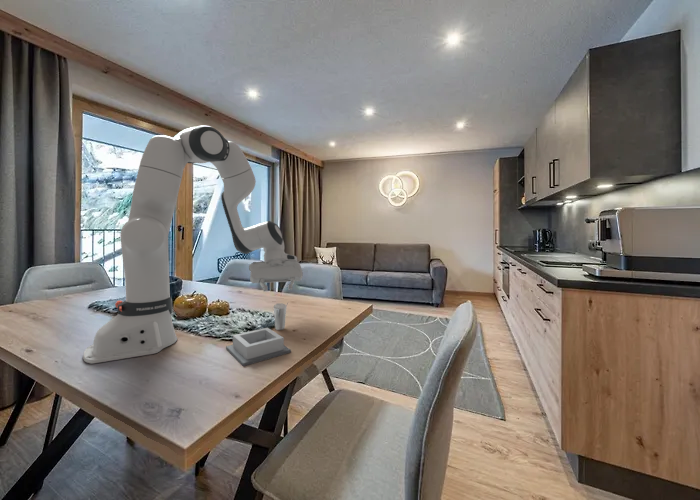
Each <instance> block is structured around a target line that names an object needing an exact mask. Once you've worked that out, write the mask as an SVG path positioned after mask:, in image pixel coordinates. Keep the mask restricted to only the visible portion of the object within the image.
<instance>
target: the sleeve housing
mask: <svg viewBox="0 0 700 500" xmlns="http://www.w3.org/2000/svg"><path fill="white" fill-rule="evenodd" d="M284 341H285V337H283V336H281V335H280V334H278V333H277V332H276V331H274V330H272V329H271V328H269V327H263V328H260V329H259V328H258V329H256V330H250V331H246V332H240V333H237V334H232V344H230V345H226V346H225V349H226V351H228V352H229V354H231V355H232V356H233V358H234V359H235V360H236V361H237V362H238V363H239V364H240V365H242V367H245V366H248V365H252V364H256V363H259V362H262V361H265V360H269V359H273V358H278V357H280V356H283V355H286V354H290V353H291V352H292V349H290V348H289V347H287V346H286V345H285V343H284Z"/></svg>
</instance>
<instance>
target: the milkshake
mask: <svg viewBox="0 0 700 500" xmlns="http://www.w3.org/2000/svg"><path fill="white" fill-rule="evenodd" d="M288 303H289V302H287V303H286V304H285V303H276V304H274V306H273V316H274V328H275V331H276V330H277V331H281V330H285V329H286V315H287V305H288Z"/></svg>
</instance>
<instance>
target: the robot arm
mask: <svg viewBox="0 0 700 500" xmlns="http://www.w3.org/2000/svg"><path fill="white" fill-rule="evenodd" d="M206 163H211V164H212V165H213V166H214V167H215V168H216V170H217V171H218V173H219V176H220V179H221V180H222V184H223V192H222V193H221V196H220V197H221V198H220V199H221V204H222V207H223V211H224V214H225V218H226V220H227V224H228V226H229V229H230V233H231V237H232V241H233V244H234V245H233V246H234V248H235V250H236V251H238V252H240V253H242V254H245V255H247V254H250V253H252V252H254V251H256V250H260V249H262V250H263V253H264V254H263V261H253V262H251V263H250V264H249V265H248V270H249V271H250V276H249V278H250V279H249V281H250V283H252V284H259V285H260V287H261V288H262V291H263V292H268V291H269V289H268V285H266V284H267V283H286V282H289V284H288V285H287V289H288V291H293V285H294V284H295V282H301V281H302V279H303V268H302V266H301V264H300V262H298V257H297V256H296V255H293V254H289V253H286V252H285V248H286V247H285V242H284V238H283V237H284V236H283V232H282V230H281V228H280V226H279V225H278V224H277V223H275V222H274V221H271V220H266V221H264V222H260V223H257V224H254V225H251V226H248V227H243V225H242V221H241V218H240V215H239V211H238V205H239V204H240V203H241V202H243V201H244V200H245V199H246V198H247V197H248V196H249V195H250V194H252V192H253V190H254V189H255V186H256V182H257V181H256V178H255V177H256V176H255V174H254V171H253V169H252V167H251V164H250V162H249V161H248V159H247V156H246V154H244V151H243V150H242V149H241V147H240V145H238V144H237V143H236V142H234V141H231V140H228V139H226V138H225V137H224V135H223V134H222V133H221V132H220V131H219V130H218V129H216V128H215V127H213V126H210V125H198V126H192V127H187V128H185V129H183V130H181V131H179V132H177V133H176V134H174V135H172V137H171V136H168V135H164V134H163V135H162V134H160V135H159V134H158V135H155V136H152V137H151V138H150V139H149V141H148V142H147V145H146V147H145V149H144V152H143V153H142V156H141V159H140V163H139V166H138V171H137V175H136V179H135V184H134V188H133V191H132V198H131V204H130V210H129V214H128V221H127V222H125V223H124V224H123V226H122V228H121V229H120V245H121V257H122V263H123V270H124V280H125V282H124V286H125V300H117V301H116V302H115V308H116V309H117V315H116V316H114V317H113V318H112V319H110V320H109V321H107V323H105V324H103V325H102V326H101V327H100V328H98V329H97V331H96V332H95V335H94V338H93V343H92V345H89V346H88V347H87V348H85V349H84V351H83V356H82V357H83V361H84V362H85V363H87V364H92V365H93V364H98V363H105V362H111V361H117V360H118V361H119V360H123V359H129V358H136V357H141V356H148V355H153V354H157V353H159V352H161V351H162V350H163V349H165V348H167V347H169V346H171V345H173V344H175V343H176V342H177V340H178V336H177V334H176V332H175V328H174V323H173V319H172V314H173V299H172V296H171V290H170V264H169V261H170V259H169V233H170V229H171V225H172V220H173V217H174V212H175V209H176V204H177V200H178V196H179V192H180V188H181V187H180V186H181V183H182V178H183V174H184V170H185V168H186V165H187V164H206Z"/></svg>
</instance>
